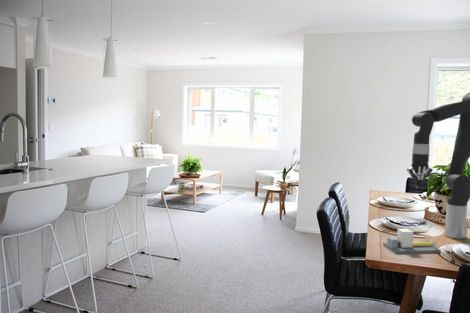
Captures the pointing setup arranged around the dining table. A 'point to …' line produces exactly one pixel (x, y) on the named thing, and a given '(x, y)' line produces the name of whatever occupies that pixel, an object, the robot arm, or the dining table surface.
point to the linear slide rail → (416, 248)
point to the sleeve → (405, 237)
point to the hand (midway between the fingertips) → (418, 187)
